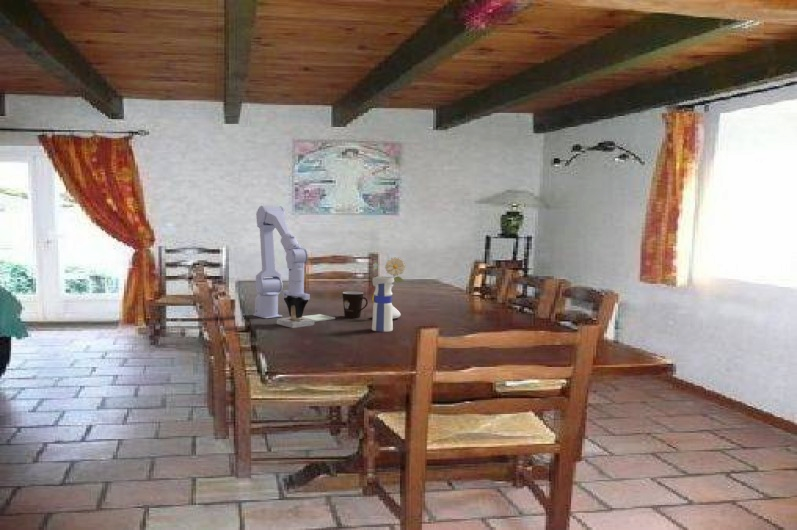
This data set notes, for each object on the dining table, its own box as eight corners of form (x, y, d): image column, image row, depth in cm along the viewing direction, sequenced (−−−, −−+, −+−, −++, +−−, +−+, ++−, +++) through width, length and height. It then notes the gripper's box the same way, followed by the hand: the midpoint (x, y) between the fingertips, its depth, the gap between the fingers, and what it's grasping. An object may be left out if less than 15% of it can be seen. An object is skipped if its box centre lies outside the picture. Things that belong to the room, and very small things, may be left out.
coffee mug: (338, 315, 263) (339, 291, 262) (358, 315, 267) (358, 291, 266) (348, 320, 253) (349, 295, 252) (369, 319, 256) (369, 294, 255)
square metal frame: (276, 324, 241) (276, 318, 240) (298, 321, 248) (298, 316, 248) (292, 327, 234) (292, 322, 233) (314, 325, 241) (314, 319, 240)
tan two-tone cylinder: (288, 324, 241) (289, 305, 240) (296, 323, 243) (296, 305, 243) (294, 325, 238) (294, 307, 238) (302, 324, 241) (302, 306, 240)
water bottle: (367, 330, 232) (369, 262, 230) (374, 326, 240) (375, 260, 238) (389, 332, 230) (391, 263, 228) (395, 328, 238) (397, 261, 236)
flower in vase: (368, 319, 256) (370, 257, 254) (377, 315, 267) (379, 255, 265) (399, 322, 252) (401, 258, 250) (407, 317, 263) (409, 257, 261)
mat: (299, 318, 255) (299, 316, 255) (319, 315, 263) (319, 314, 262) (315, 321, 248) (315, 319, 248) (335, 318, 255) (335, 317, 255)
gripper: (276, 279, 242) (275, 315, 243) (299, 283, 231) (298, 320, 232) (291, 278, 247) (291, 313, 248) (314, 282, 236) (314, 318, 237)
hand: (295, 316), depth 240 cm, fingers closed on tan two-tone cylinder, 4 cm apart
